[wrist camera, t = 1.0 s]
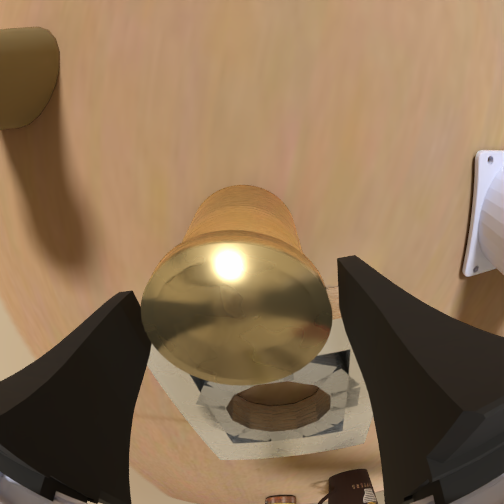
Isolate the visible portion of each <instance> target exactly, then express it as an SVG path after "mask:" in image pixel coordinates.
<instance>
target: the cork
mask: <svg viewBox="0 0 504 504" xmlns="http://www.w3.org/2000/svg"><path fill="white" fill-rule="evenodd" d="M58 71H59V49H58V45H57V42H56V38H55V37H54V36H53V35H52V34H51V32H50V31H49V30H47V29H44V28H41V27H25V28H11V29H1V30H0V130H4V129H14V128H20V127H23V126H26V125H28V124H30V123H31V122H32V121H33V120H34V119H36V118H37V117H38V116H39V115H40V114H41V112H42V111H43V109H44V108H45V106H46V105H47V103H48V102H49V100H50V97H51V95H52V92H53V90H54V88H55V85H56V81H57V76H58Z"/></svg>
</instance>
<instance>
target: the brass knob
mask: <svg viewBox="0 0 504 504" xmlns="http://www.w3.org/2000/svg"><path fill="white" fill-rule="evenodd" d="M141 317H142V323H143V326H144V329H145V332H146V334H147V336H148V338H149V340H150V341H151V343H152V344H153V346H154V347H155V348H156V349H157V351H158V352H159V353H160V354H161V355H162V356H163V357H164V358H165V359H166V360H168V361H169V362H170V363H172V364H173V365H174V366H176V367H177V368H179V369H181V370H182V371H184V372H186V373H188V374H190V375H192V376H195V377H198V378H200V379H203V380H207V381H210V382H214V383H219V384H226V385H242V386H244V385H257V384H264V383H268V382H272V381H276V380H279V379H282V378H285V377H287V376H289V375H291V374H293V373H295V372H297V371H299V370H300V369H302V368H303V367H305V366H306V365H307V364H309V363H310V362H311V361H312V360H313V359H314V358H315V357H316V356H317V355H318V354H319V353H320V351H321V350H322V349H323V347H324V345H325V344H326V342H327V340H328V337H329V335H330V331H331V327H332V317H333V316H332V307H331V303H330V300H329V297H328V294H327V291H326V288H325V285H324V282H323V279H322V277H321V275H320V273H319V272H318V270H317V269H316V267H315V266H314V265H313V263H312V262H311V261H310V260H309V259H308V258H307V257H306V256H305V255H304V254H303V252H302V249H301V245H300V242H299V238H298V235H297V231H296V228H295V224H294V221H293V218H292V216H291V213H290V211H289V210H288V208H287V207H286V205H285V204H284V203H283V202H282V201H281V200H280V199H279V198H278V197H277V196H275V195H274V194H272V193H271V192H269V191H267V190H265V189H262V188H259V187H255V186H249V185H236V186H230V187H226V188H224V189H221V190H219V191H217V192H215V193H213V194H212V195H211V196H209V197H208V198H207V199H206V200H205V201H204V202H203V203H202V204H201V206H200V207H199V209H198V211H197V212H196V214H195V216H194V218H193V220H192V222H191V224H190V226H189V229H188V231H187V233H186V235H185V237H184V239H183V241H182V243H181V244H179V245H177V246H176V247H175V248H173V249H172V250H171V251H170V252H168V253H167V254H166V255H165V257H164V258H163V259H162V260H161V261H160V262H159V264H158V265H157V267H156V268H155V270H154V272H153V274H152V276H151V278H150V280H149V282H148V284H147V286H146V288H145V291H144V293H143V297H142V302H141Z"/></svg>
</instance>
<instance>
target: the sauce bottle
mask: <svg viewBox="0 0 504 504" xmlns="http://www.w3.org/2000/svg"><path fill="white" fill-rule="evenodd" d="M295 503H296V499H295V497H294V496H273V497H269V498H267V499H266V500H265V504H295Z"/></svg>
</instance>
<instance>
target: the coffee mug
mask: <svg viewBox="0 0 504 504" xmlns="http://www.w3.org/2000/svg"><path fill="white" fill-rule="evenodd" d="M326 499H328V504H378V502H377V499H376V496H375V493H374V490H373V487H372V484H371V481H370V478H369V475H368V472H367V470H366V469H357V470H351V471H347V472H343V473H340V474H337V475H334V476H332V477H330V478H329V494H327V495H326V496H325V497H324V498H322V499H321V500H320V501H319V503H318V504H322V503H323V502H324V501H325V500H326Z"/></svg>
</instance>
